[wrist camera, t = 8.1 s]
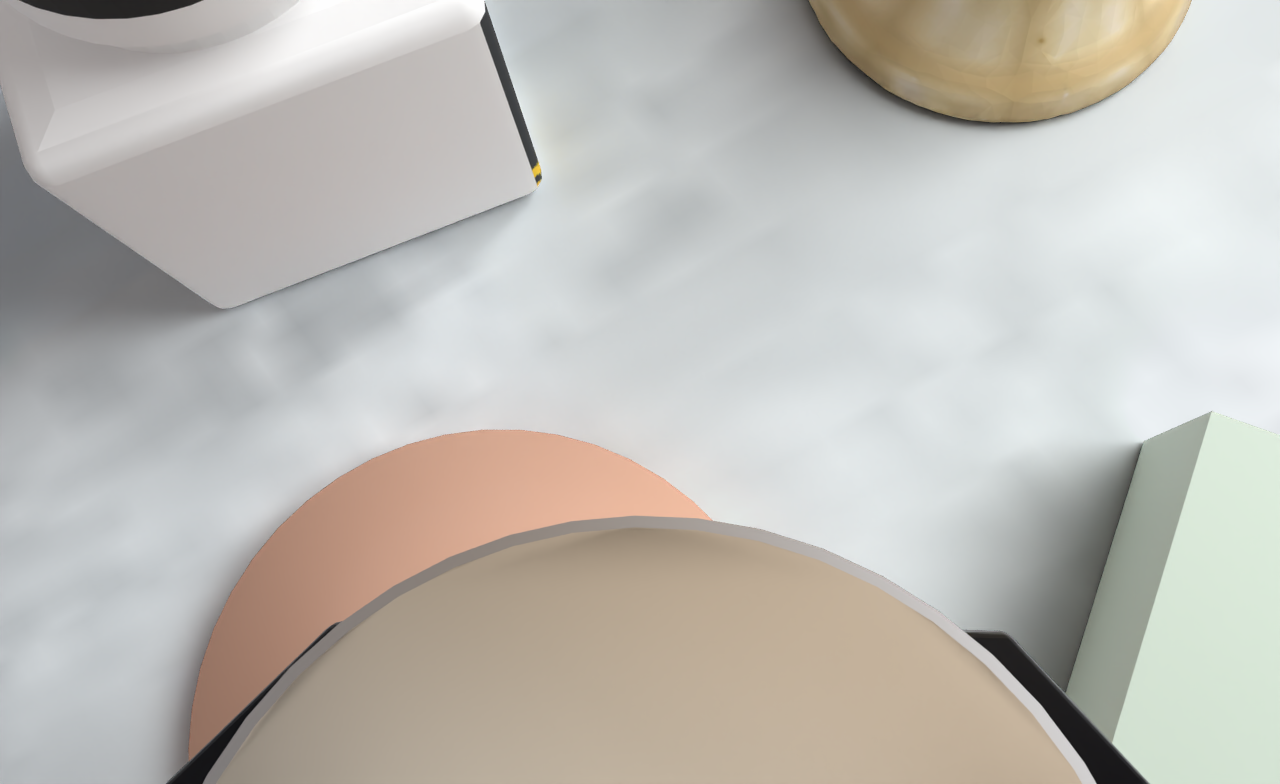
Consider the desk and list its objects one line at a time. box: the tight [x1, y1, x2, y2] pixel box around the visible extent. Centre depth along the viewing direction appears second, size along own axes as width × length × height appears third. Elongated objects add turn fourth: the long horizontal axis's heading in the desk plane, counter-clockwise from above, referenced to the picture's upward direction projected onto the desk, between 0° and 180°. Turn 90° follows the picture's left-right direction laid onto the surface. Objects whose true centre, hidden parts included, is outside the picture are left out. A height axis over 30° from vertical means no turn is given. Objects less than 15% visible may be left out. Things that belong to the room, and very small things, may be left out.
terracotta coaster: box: [188, 430, 712, 761], centre depth 21 cm, size 11×11×1 cm
